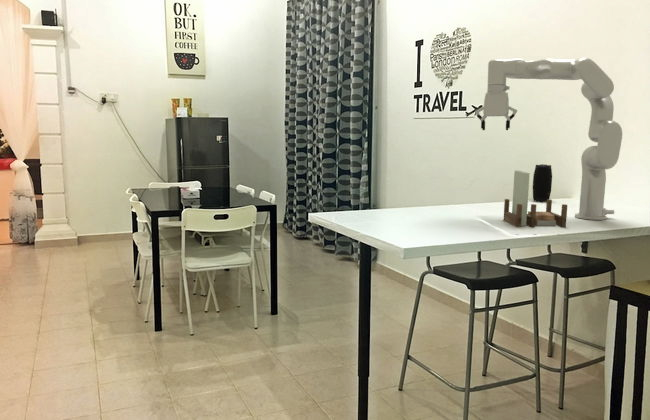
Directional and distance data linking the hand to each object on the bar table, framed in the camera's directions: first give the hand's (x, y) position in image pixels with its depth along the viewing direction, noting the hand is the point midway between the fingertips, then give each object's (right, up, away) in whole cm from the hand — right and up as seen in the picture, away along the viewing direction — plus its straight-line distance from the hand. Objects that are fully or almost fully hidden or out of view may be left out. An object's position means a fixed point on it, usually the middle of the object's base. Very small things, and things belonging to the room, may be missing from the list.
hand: (495, 130), depth 241 cm
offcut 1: (+13, -38, -16) cm, 43 cm away
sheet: (+4, -41, -16) cm, 44 cm away
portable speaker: (+42, -30, +59) cm, 78 cm away
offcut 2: (+13, -40, -16) cm, 45 cm away
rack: (+10, -41, -16) cm, 45 cm away
